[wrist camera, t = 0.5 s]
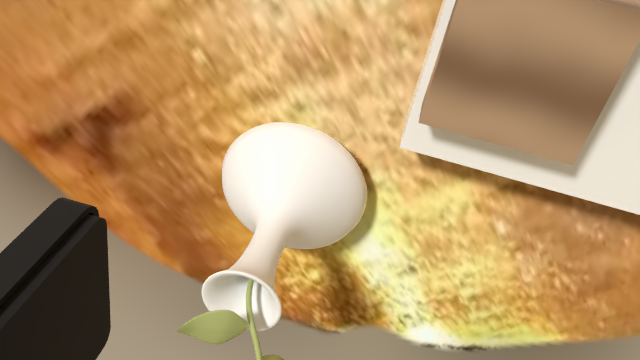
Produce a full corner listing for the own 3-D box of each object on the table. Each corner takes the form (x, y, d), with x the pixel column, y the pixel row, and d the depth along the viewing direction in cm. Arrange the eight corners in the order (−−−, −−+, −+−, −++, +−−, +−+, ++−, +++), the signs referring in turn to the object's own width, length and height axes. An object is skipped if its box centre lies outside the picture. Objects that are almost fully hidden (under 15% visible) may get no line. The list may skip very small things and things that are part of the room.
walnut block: (470, -45, 31) (469, -32, 29) (642, -2, 31) (653, 15, 29) (422, 103, 37) (418, 122, 35) (567, 143, 36) (572, 165, 34)
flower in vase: (201, 157, 48) (-2, 439, 28) (303, 82, 42) (138, 371, 22) (307, 264, 52) (195, 577, 32) (413, 209, 46) (358, 550, 26)
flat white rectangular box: (484, -132, 32) (484, -120, 29) (784, -59, 31) (818, -39, 28) (406, 118, 42) (399, 147, 39) (633, 181, 41) (646, 216, 38)
